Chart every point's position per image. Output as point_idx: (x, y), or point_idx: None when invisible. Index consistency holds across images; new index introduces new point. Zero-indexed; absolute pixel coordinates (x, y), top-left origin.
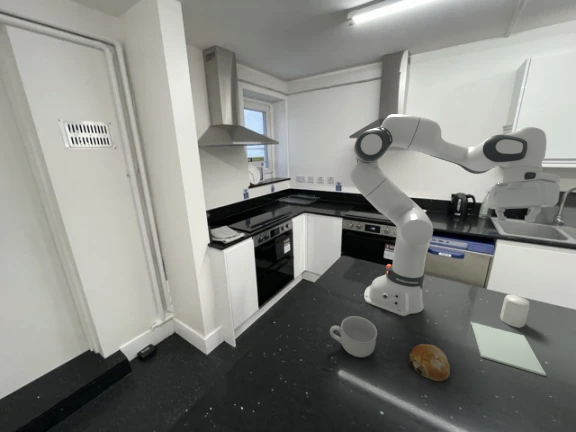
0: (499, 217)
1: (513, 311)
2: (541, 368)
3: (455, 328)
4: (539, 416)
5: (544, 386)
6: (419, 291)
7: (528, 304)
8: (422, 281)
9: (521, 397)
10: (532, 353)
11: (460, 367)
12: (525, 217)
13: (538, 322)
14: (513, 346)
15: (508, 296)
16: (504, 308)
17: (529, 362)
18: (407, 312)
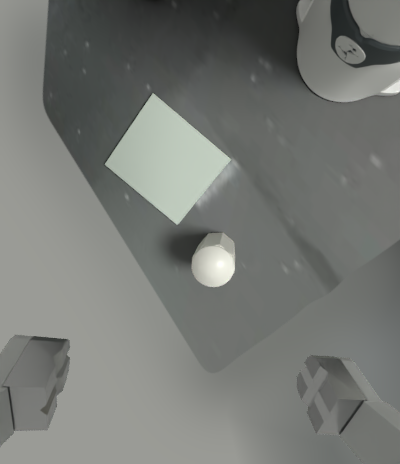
0: (345, 381)
1: (204, 241)
2: (113, 170)
3: (227, 111)
4: (56, 79)
5: (92, 142)
6: (325, 37)
7: (192, 270)
8: (338, 26)
9: (81, 84)
10: (141, 191)
11: (140, 30)
12: (45, 365)
13: (203, 295)
14: (159, 176)
15: (227, 260)
16: (223, 241)
17: (126, 164)
18: (300, 17)
